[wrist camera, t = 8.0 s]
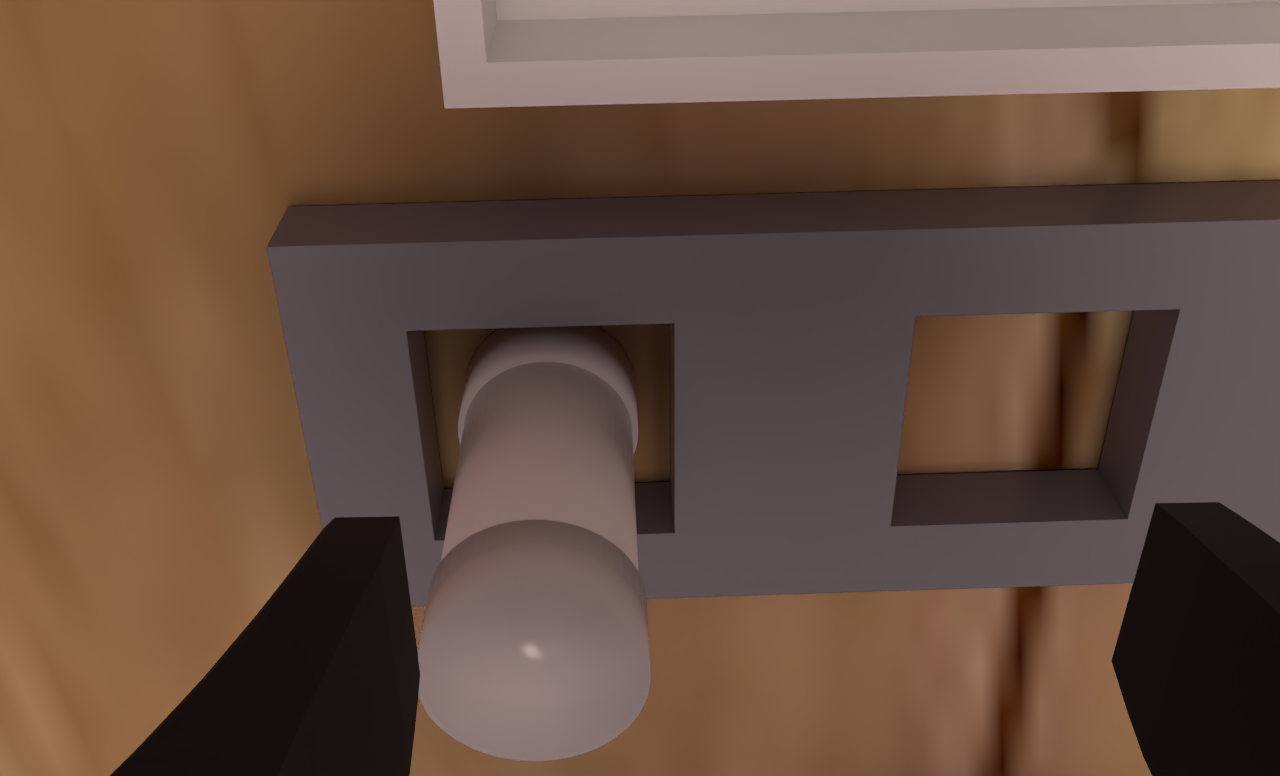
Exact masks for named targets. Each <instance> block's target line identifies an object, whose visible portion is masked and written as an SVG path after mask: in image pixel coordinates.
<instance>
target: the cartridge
mask: <svg viewBox="0 0 1280 776" xmlns="http://www.w3.org/2000/svg"><path fill="white" fill-rule="evenodd" d="M458 438H459V443H460V451H459V457H458V463H457V469H456V475H455V481H454V487H453V493H452V499H451V504H450V510H449V516H448V522H447V528H446V534H445V540H444V546H443V552H442V558H441V562H440V564H439V565H438V567H437V568H436V570H435V572H434V574H433V576H432V579H431V583H430V586H429V590H428V596H427V602H426V607H425V613H424V619H423V625H422V630H421V636H420V642H419V647H418V653H417V654H418V662H419V669H420V682H419V692H418V697H419V699H420V701H421V703H422V706H423V707H424V709H425V710H426V712H427V714H428V715H429V716H430V718H431V719H432V720H433V721H434V722H435V723H436V724H437V726H439V727H440V728H441V729H442V730H443V731H444V732H445V733H447V734H448V735H449V736H451V737H452V738H454V739H455V740H457V741H458V742H460V743H462V744H464V745H466V746H468V747H470V748H472V749H475V750H477V751H480V752H482V753H485V754H489V755H492V756H496V757H500V758H505V759H511V760H520V761H549V760H558V759H564V758H569V757H573V756H577V755H580V754H584V753H586V752H589V751H592V750H594V749H597V748H598V747H600V746H602V745H604V744H606V743H608V742H610V741H611V740H613V739H614V738H616V737H617V736H619V735H620V734H621V733H622V732H623V731H625V730H626V729H627V728H628V727H629V726H630V725H631V724H632V723H633V722H634V720H635V719H636V718H637V716H638V715H639V713H640V712H641V710H642V709H643V707H644V704H645V702H646V700H647V697H648V693H649V690H650V680H651V672H650V652H649V632H648V613H647V598H646V590H645V587H644V583H643V580H642V578H641V576H640V574H639V572H638V551H637V528H636V505H635V482H634V459H633V456H634V453H635V451H636V446H637V442H638V415H637V396H636V381H635V375H634V371H633V367H632V365H631V363H630V360H629V358H628V357H627V355H626V353H625V352H624V350H623V349H622V348H621V346H620V345H619V344H618V343H617V342H616V341H615V340H614V339H613V338H612V337H611V336H610V335H609V334H607V333H606V332H604V331H603V330H602V329H600V328H598V327H597V326H562V327H527V328H499V329H497V330H496V331H494V332H493V333H492V334H491V335H489V336H488V337H487V338H486V339H485V340H484V341H483V342H482V343H481V345H480V346H479V347H478V349H477V350H476V352H475V353H474V355H473V357H472V359H471V361H470V363H469V367H468V370H467V374H466V380H465V386H464V391H463V397H462V403H461V408H460V414H459V421H458Z"/></svg>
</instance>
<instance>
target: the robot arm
mask: <svg viewBox="0 0 1280 776" xmlns="http://www.w3.org/2000/svg"><path fill="white" fill-rule="evenodd" d="M1112 664H1113V667H1114V670H1115V673H1116V676H1117V679H1118V683H1119V686H1120V689H1121V692H1122V695H1123V698H1124V702H1125V705H1126V708H1127V711H1128V714H1129V717H1130V720H1131V723H1132V726H1133V728H1134V731H1135V734H1136V737H1137V740H1138V743H1139V745H1140V748H1141V751H1142V754H1143V757H1144V759H1145V761H1146V763H1147V765H1148V767H1149V770H1150V772H1151V774H1152V776H1280V543H1279V542H1278V541H1276V540H1275V539H1274V538H1272V537H1271V536H1269V535H1268V534H1266V533H1265V532H1264V531H1262V530H1261V529H1259V528H1258V527H1256V526H1255V525H1253V524H1252V523H1250V522H1249V521H1247V520H1246V519H1244V518H1243V517H1241V516H1240V515H1238V514H1237V513H1235V512H1234V511H1232V510H1231V509H1229V508H1227V507H1226V506H1224V505H1223V504H1221V503H1219V502H1197V503H1155V507H1154V510H1153V514H1152V518H1151V521H1150V525H1149V528H1148V532H1147V536H1146V539H1145V543H1144V546H1143V550H1142V554H1141V557H1140V561H1139V564H1138V568H1137V572H1136V575H1135V579H1134V582H1133V586H1132V590H1131V593H1130V597H1129V600H1128V604H1127V608H1126V611H1125V615H1124V618H1123V622H1122V626H1121V629H1120V633H1119V636H1118V640H1117V644H1116V647H1115V651H1114V654H1113V658H1112ZM419 682H420V669H419V662H418V654H417V647H416V639H415V631H414V624H413V616H412V609H411V601H410V593H409V586H408V578H407V570H406V563H405V555H404V548H403V540H402V532H401V525H400V517H399V516H392V517H335V518H334V519H333V520H332V521H331V522H330V523H328V524H327V525H326V526H325V527H324V528H323V530H322V531H321V532H320V534H319V535H318V536H317V538H316V539H315V540H314V542H313V543H312V544H311V546H310V547H309V548H308V550H307V551H306V552H305V554H304V555H303V556H302V558H301V559H300V560H299V562H298V563H297V564H296V565H295V567H294V568H293V569H292V571H291V572H290V573H289V575H288V576H287V577H286V578H285V580H284V581H283V582H282V584H281V585H280V586H279V587H278V589H277V590H276V591H275V592H274V594H273V595H272V596H271V597H270V599H269V600H268V601H267V603H266V604H265V605H264V606H263V608H262V609H261V610H260V611H259V613H258V614H257V615H256V616H255V618H254V619H253V620H252V621H251V622H250V623H249V625H248V626H247V627H246V628H245V629H244V631H243V632H242V633H241V634H240V635H239V637H238V638H237V639H236V640H235V641H234V642H233V644H232V645H231V646H230V647H229V648H228V650H227V651H226V652H225V653H224V654H223V655H222V657H221V658H220V659H219V660H218V661H217V663H216V664H215V665H214V666H213V667H212V668H211V670H210V671H209V672H208V673H207V674H206V675H205V676H204V678H203V679H202V680H201V681H200V682H199V683H198V684H197V685H196V687H195V688H194V689H193V690H192V691H191V692H190V693H189V694H188V695H187V696H186V697H185V698H184V699H183V700H182V702H181V703H180V704H179V705H178V706H177V707H176V708H175V709H174V710H173V711H172V712H171V713H170V714H169V715H168V716H167V718H166V719H165V720H164V721H163V722H162V723H161V724H160V725H159V726H158V727H157V728H156V729H155V730H154V731H153V732H152V734H151V735H150V736H149V737H148V738H147V739H146V740H145V741H144V742H143V743H142V744H141V745H140V746H139V747H138V748H137V749H136V750H135V751H134V752H133V753H132V754H131V755H130V756H129V757H128V758H127V759H126V760H125V761H124V762H123V763H122V764H121V765H120V766H119V767H118V768H117V769H116V770H115V771H114V772H113V773H112V774H111V775H110V776H409V773H410V765H411V757H412V748H413V739H414V731H415V721H416V712H417V702H418V692H419Z"/></svg>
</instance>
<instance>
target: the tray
mask: <svg viewBox="0 0 1280 776" xmlns="http://www.w3.org/2000/svg"><path fill="white" fill-rule="evenodd" d="M433 2H434V12H435V21H436V31H437V40H438V50H439V60H440V69H441V79H442V88H443V98H444V108H445V109H447V108H487V107H527V106H567V105H607V104H647V103H687V102H727V101H767V100H807V99H847V98H887V97H928V96H968V95H1008V94H1048V93H1088V92H1128V91H1168V90H1208V89H1248V88H1280V0H433Z"/></svg>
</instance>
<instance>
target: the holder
mask: <svg viewBox="0 0 1280 776" xmlns="http://www.w3.org/2000/svg"><path fill="white" fill-rule="evenodd" d="M267 250H268V255H269V260H270V266H271V271H272V276H273V281H274V286H275V291H276V296H277V301H278V306H279V311H280V316H281V321H282V327H283V332H284V337H285V342H286V347H287V352H288V357H289V362H290V367H291V372H292V377H293V382H294V388H295V393H296V398H297V403H298V408H299V413H300V418H301V423H302V428H303V433H304V438H305V443H306V449H307V454H308V459H309V464H310V469H311V474H312V479H313V484H314V489H315V494H316V499H317V504H318V510H319V515H320V520H321V525H322V530H323V528H324V527H325V526H326V525H327V524H328V523H330V522H331V521H332V520H333V519H334V518H335V517H392V516H399V517H400V525H401V532H402V540H403V548H404V555H405V563H406V570H407V578H408V586H409V593H410V601H411V606H426V602H427V596H428V590H429V586H430V583H431V579H432V576H433V574H434V572H435V570H436V568H437V567H438V565H439V564H440V562H441V558H442V552H443V546H444V540H445V534H446V528H447V522H448V516H449V510H450V504H451V499H452V493H453V489H444V487H443V480H442V472H441V464H440V456H439V448H438V440H437V432H436V424H435V416H434V408H433V400H432V392H431V385H430V377H429V369H428V361H427V353H426V345H425V337H424V330H455V329H491V328H527V327H562V326H598V325H633V324H669V323H670V482H661V483H635V505H636V528H637V551H638V572H639V574H640V576H641V578H642V580H643V583H644V587H645V590H646V598H647V599H655V598H687V597H718V596H749V595H781V594H812V593H843V592H875V591H906V590H937V589H969V588H1000V587H1031V586H1063V585H1094V584H1125V583H1133V582H1134V579H1135V575H1136V572H1137V568H1138V564H1139V561H1140V557H1141V554H1142V550H1143V546H1144V543H1145V539H1146V536H1147V532H1148V528H1149V525H1150V521H1151V518H1152V514H1153V510H1154V507H1155V503H1197V502H1219V503H1221V504H1223V505H1224V506H1226V507H1227V508H1229V509H1231V510H1232V511H1234V512H1235V513H1237V514H1238V515H1240V516H1241V517H1243V518H1244V519H1246V520H1247V521H1249V522H1250V523H1252V524H1253V525H1255V526H1256V527H1258V528H1259V529H1261V530H1262V531H1264V532H1265V533H1266V534H1268V535H1269V536H1271V537H1272V538H1274V539H1275V540H1276V541H1278V542H1279V543H1280V180H1275V181H1237V182H1199V183H1161V184H1123V185H1085V186H1047V187H1009V188H971V189H933V190H895V191H857V192H819V193H781V194H743V195H705V196H667V197H629V198H591V199H553V200H514V201H476V202H438V203H400V204H362V205H324V206H288V208H287V210H286V212H285V214H284V216H283V218H282V220H281V221H280V223H279V225H278V227H277V229H276V231H275V233H274V234H273V236H272V238H271V240H270V242H269V244H268V246H267ZM1132 310H1134V313H1133V318H1132V322H1131V327H1130V331H1129V335H1128V340H1127V344H1126V348H1125V353H1124V357H1123V362H1122V366H1121V370H1120V375H1119V379H1118V384H1117V388H1116V392H1115V397H1114V401H1113V406H1112V410H1111V414H1110V419H1109V423H1108V428H1107V432H1106V436H1105V441H1104V445H1103V450H1102V454H1101V458H1100V463H1099V467H1098V469H1090V470H1057V471H1024V472H991V473H958V474H925V475H897V469H898V460H899V452H900V444H901V435H902V427H903V419H904V410H905V402H906V394H907V385H908V377H909V368H910V360H911V352H912V343H913V335H914V327H915V318H916V317H918V316H954V315H990V314H1025V313H1061V312H1097V311H1132Z"/></svg>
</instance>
